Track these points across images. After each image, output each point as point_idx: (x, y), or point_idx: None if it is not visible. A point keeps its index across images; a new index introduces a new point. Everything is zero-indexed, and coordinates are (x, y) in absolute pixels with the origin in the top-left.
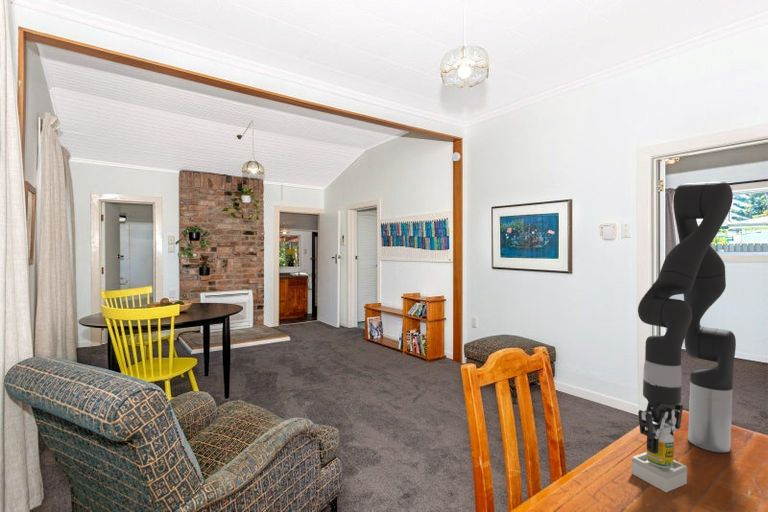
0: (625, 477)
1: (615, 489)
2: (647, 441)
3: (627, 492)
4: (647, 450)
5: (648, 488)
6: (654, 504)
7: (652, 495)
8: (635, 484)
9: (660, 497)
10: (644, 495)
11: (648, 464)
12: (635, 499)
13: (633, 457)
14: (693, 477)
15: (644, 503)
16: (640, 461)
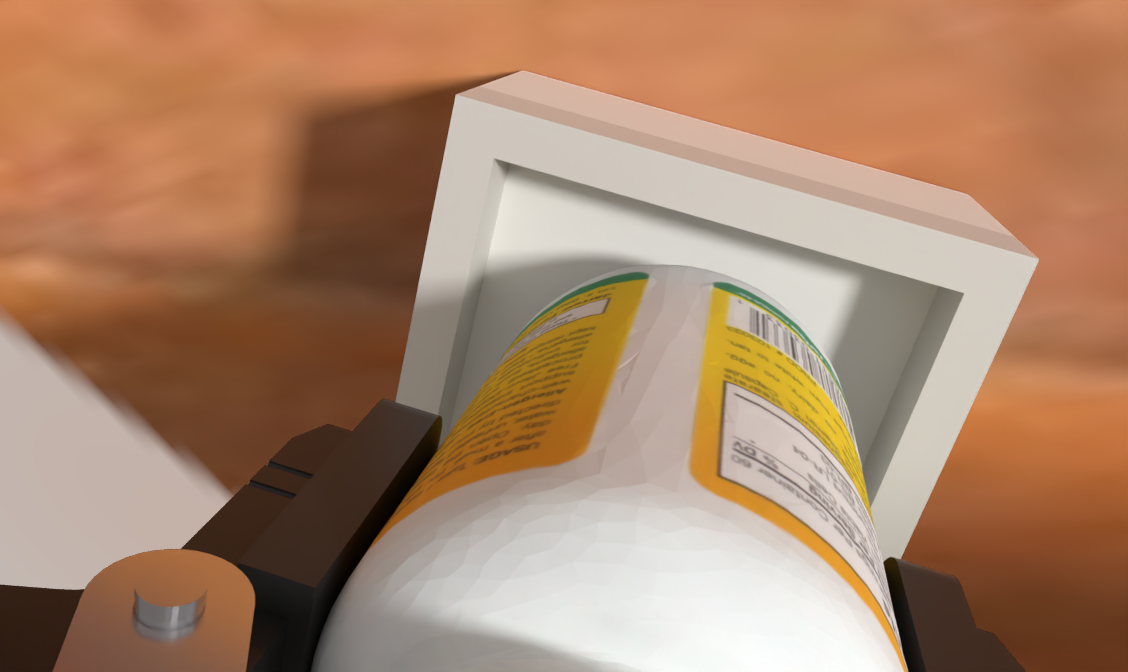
0: (366, 47)
1: (30, 64)
2: (228, 516)
3: (94, 175)
4: (518, 355)
5: (361, 307)
6: (139, 414)
7: (267, 367)
8: (318, 185)
9: (301, 428)
10: (198, 313)
11: (429, 343)
12: (55, 270)
13: (457, 115)
14: (1039, 603)
15: (72, 347)
16: (432, 232)
